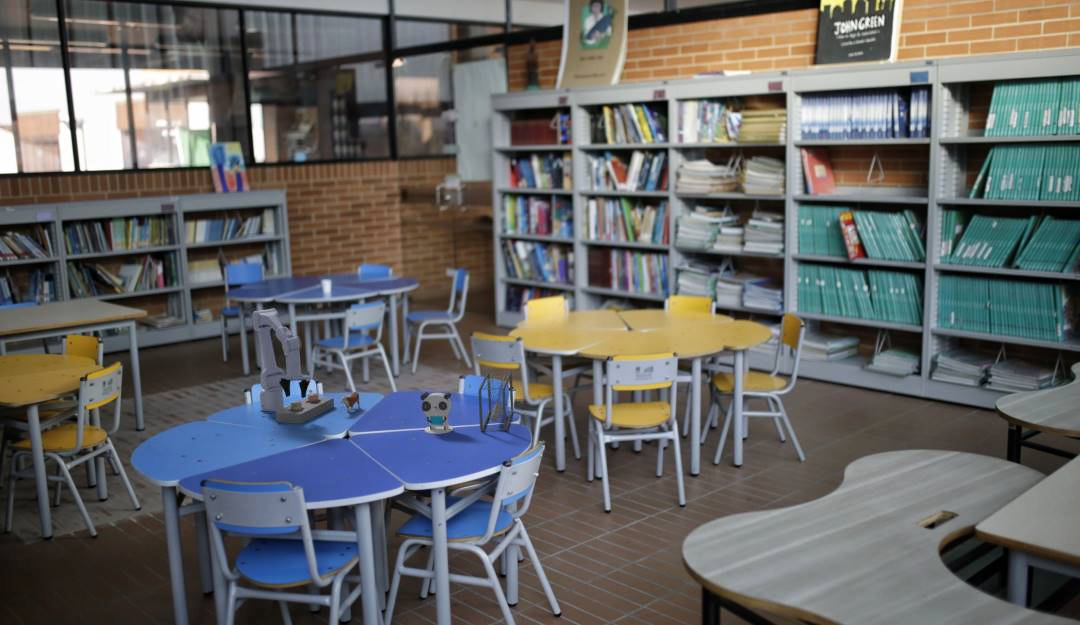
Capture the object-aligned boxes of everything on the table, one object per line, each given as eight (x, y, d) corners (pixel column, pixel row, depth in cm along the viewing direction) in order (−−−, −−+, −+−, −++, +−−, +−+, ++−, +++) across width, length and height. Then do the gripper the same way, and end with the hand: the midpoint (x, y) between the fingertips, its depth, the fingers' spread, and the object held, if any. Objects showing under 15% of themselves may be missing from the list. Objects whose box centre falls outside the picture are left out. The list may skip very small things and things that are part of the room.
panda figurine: (419, 433, 379) (416, 396, 377) (428, 425, 390) (426, 389, 388) (447, 434, 377) (445, 397, 374) (457, 426, 387) (455, 390, 385)
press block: (276, 421, 402) (275, 412, 401) (310, 405, 426) (310, 396, 425) (300, 423, 398) (300, 414, 397) (334, 406, 422) (333, 398, 421)
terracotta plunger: (306, 403, 416) (305, 395, 416) (312, 400, 420) (311, 392, 420) (315, 403, 415) (314, 396, 414) (320, 401, 419) (320, 393, 418)
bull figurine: (339, 415, 409) (337, 396, 408) (354, 406, 422) (352, 388, 420) (348, 415, 408) (347, 397, 406) (363, 407, 420) (361, 389, 419)
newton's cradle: (506, 432, 377) (504, 388, 374) (480, 433, 377) (478, 389, 374) (513, 411, 406) (511, 370, 403) (489, 411, 407) (487, 370, 404)
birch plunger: (289, 411, 404) (288, 403, 403) (295, 408, 408) (294, 400, 408) (298, 412, 403) (297, 404, 402) (304, 409, 407) (303, 401, 406)
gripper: (273, 366, 401) (275, 398, 403) (303, 368, 396) (305, 400, 398) (282, 363, 407) (285, 394, 410) (312, 364, 403) (314, 395, 405)
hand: (295, 396), depth 404 cm, fingers open, 7 cm apart
